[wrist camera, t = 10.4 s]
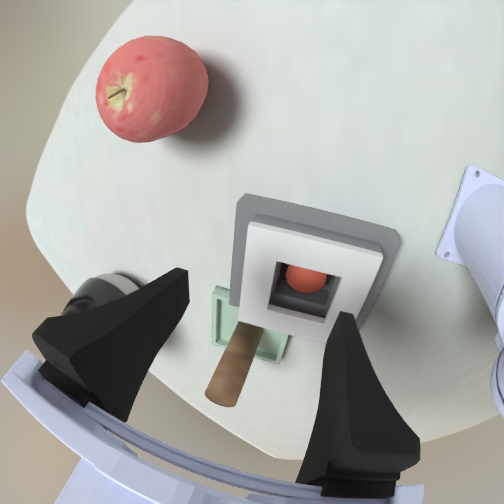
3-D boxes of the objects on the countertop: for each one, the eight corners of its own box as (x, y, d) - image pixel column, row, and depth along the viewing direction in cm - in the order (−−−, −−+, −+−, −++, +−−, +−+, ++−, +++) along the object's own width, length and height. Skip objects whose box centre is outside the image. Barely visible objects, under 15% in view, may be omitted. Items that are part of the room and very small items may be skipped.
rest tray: (296, 307, 25) (294, 316, 24) (281, 356, 30) (279, 364, 29) (216, 285, 27) (211, 293, 26) (215, 336, 31) (211, 344, 30)
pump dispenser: (89, 273, 33) (17, 345, 21) (127, 249, 28) (31, 342, 16) (133, 328, 36) (75, 406, 24) (178, 318, 32) (111, 421, 19)
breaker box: (395, 229, 19) (405, 257, 16) (356, 321, 24) (355, 353, 21) (245, 193, 21) (226, 213, 18) (236, 291, 27) (221, 319, 23)
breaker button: (331, 254, 21) (331, 265, 20) (321, 285, 23) (320, 297, 22) (293, 244, 22) (289, 255, 21) (286, 276, 24) (282, 287, 22)
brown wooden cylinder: (268, 327, 27) (241, 402, 20) (255, 340, 29) (227, 409, 22) (245, 313, 27) (211, 386, 20) (233, 326, 29) (200, 395, 21)
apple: (222, 134, 19) (163, 157, 13) (143, 131, 21) (73, 154, 14) (229, 40, 15) (169, 16, 9) (145, 50, 16) (71, 46, 10)
